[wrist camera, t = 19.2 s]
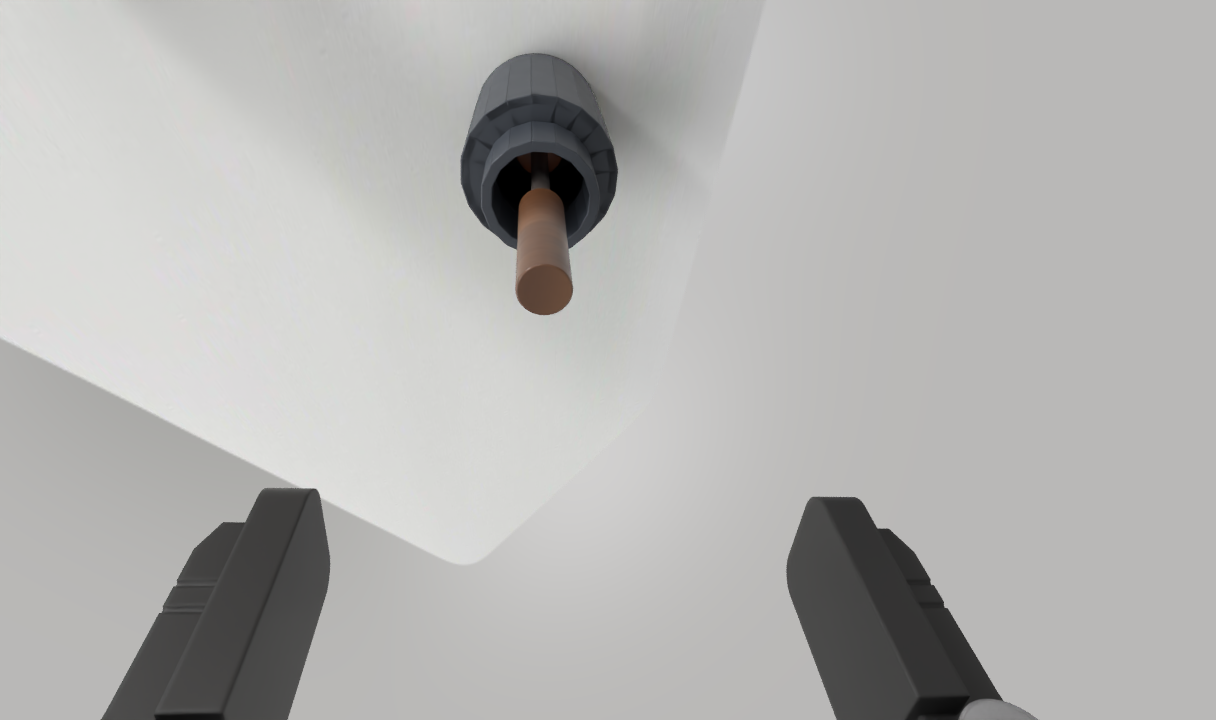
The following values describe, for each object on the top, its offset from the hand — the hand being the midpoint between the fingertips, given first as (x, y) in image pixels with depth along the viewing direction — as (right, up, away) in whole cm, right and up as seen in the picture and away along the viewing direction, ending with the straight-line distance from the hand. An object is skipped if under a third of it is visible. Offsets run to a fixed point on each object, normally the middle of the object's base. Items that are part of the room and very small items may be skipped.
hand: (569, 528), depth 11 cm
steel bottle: (-4, +18, +33) cm, 38 cm away
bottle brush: (-4, +18, +33) cm, 38 cm away
